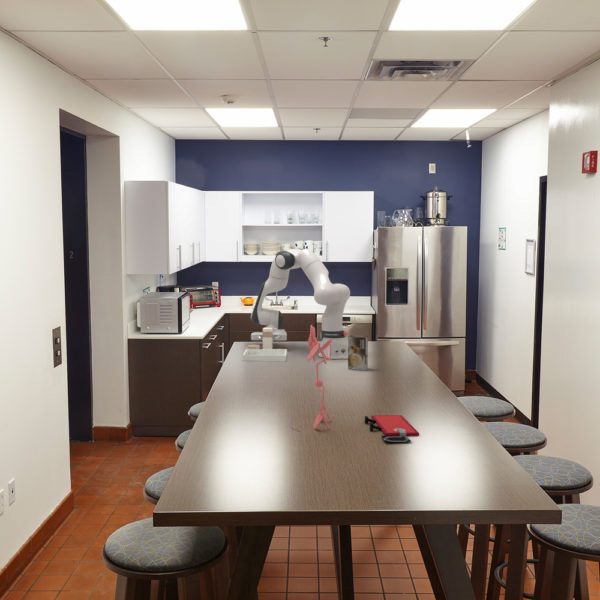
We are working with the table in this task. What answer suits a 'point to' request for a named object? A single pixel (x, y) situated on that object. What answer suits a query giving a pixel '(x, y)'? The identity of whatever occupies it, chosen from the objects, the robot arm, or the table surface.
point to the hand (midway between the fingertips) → (268, 338)
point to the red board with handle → (392, 427)
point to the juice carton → (267, 338)
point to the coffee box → (358, 352)
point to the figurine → (314, 347)
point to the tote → (266, 355)
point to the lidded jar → (253, 349)
